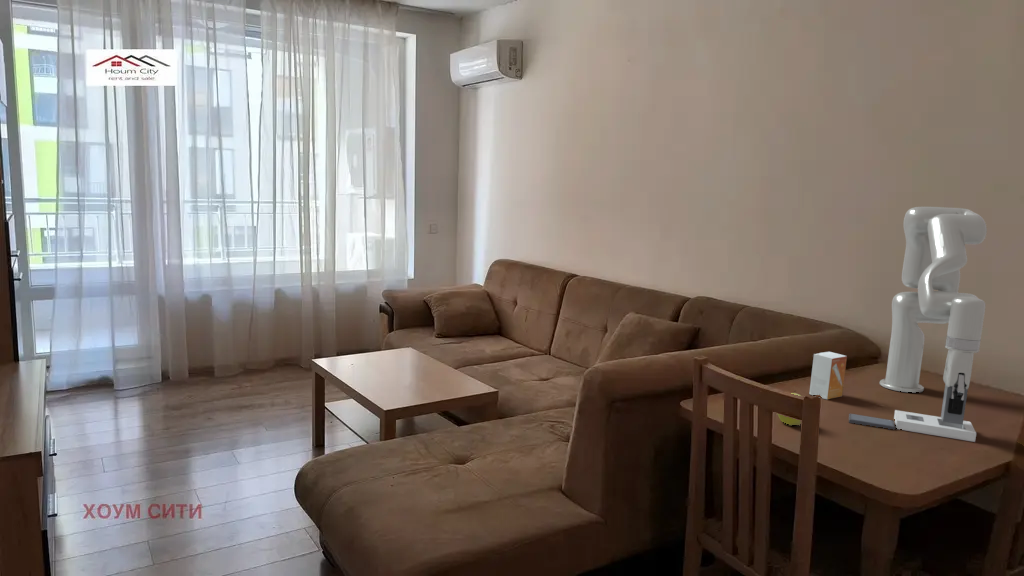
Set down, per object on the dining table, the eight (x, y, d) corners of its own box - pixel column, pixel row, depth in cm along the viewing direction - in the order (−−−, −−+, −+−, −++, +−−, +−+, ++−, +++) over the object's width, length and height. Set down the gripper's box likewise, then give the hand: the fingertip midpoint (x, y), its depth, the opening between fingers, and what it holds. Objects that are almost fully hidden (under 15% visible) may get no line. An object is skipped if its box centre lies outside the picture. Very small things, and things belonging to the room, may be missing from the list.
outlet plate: (893, 418, 197) (895, 409, 196) (969, 430, 189) (970, 421, 189) (896, 428, 188) (897, 419, 187) (975, 442, 180) (976, 432, 180)
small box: (827, 400, 211) (832, 358, 209) (808, 394, 216) (813, 353, 214) (842, 396, 216) (847, 355, 214) (823, 391, 221) (828, 351, 219)
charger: (940, 416, 189) (945, 380, 188) (960, 419, 187) (965, 383, 186) (942, 421, 185) (948, 384, 184) (962, 424, 183) (968, 387, 182)
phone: (848, 416, 197) (849, 413, 197) (893, 423, 192) (893, 420, 192) (848, 422, 191) (849, 419, 191) (894, 430, 187) (894, 426, 187)
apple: (812, 419, 190) (812, 387, 186) (800, 434, 185) (799, 401, 181) (784, 411, 195) (782, 380, 192) (771, 426, 190) (769, 394, 187)
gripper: (942, 336, 192) (933, 400, 195) (950, 348, 177) (940, 417, 180) (974, 340, 189) (964, 404, 192) (985, 352, 174) (974, 422, 177)
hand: (953, 410), depth 186 cm, fingers closed on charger, 4 cm apart
